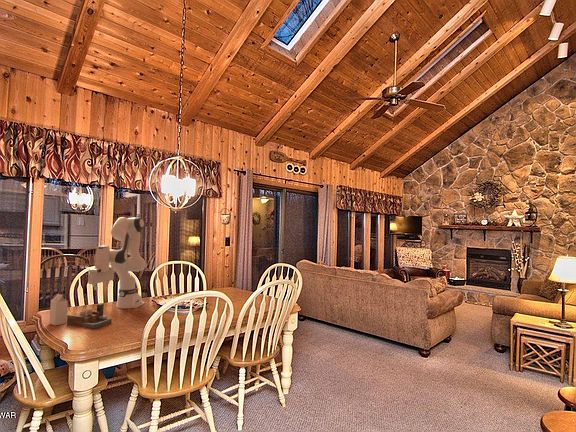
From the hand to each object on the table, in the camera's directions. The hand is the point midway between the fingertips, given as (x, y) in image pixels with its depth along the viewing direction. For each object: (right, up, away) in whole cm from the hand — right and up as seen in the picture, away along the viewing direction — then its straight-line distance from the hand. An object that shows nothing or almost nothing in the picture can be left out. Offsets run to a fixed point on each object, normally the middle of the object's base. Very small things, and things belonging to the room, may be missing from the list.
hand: (100, 288), depth 240 cm
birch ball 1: (-3, -14, -15) cm, 21 cm away
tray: (+6, -21, -15) cm, 26 cm away
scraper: (-1, -21, 0) cm, 21 cm away
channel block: (-5, -20, -12) cm, 24 cm away
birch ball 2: (-2, -14, -10) cm, 17 cm away
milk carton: (-20, -20, -15) cm, 32 cm away
